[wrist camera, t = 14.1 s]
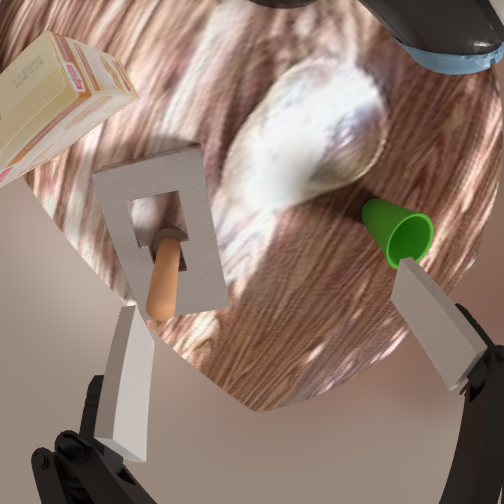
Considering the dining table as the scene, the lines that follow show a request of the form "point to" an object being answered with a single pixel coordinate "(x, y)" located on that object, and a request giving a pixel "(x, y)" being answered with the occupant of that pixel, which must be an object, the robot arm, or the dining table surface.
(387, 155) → the dining table surface
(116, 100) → the coffeecake box
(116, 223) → the keyhole plate
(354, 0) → the dining table surface
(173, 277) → the headed peg
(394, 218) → the cup
